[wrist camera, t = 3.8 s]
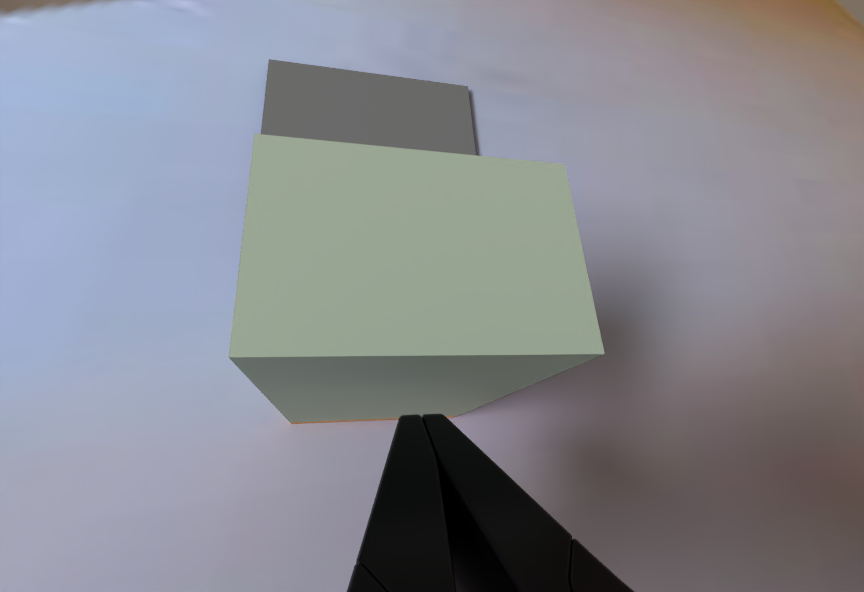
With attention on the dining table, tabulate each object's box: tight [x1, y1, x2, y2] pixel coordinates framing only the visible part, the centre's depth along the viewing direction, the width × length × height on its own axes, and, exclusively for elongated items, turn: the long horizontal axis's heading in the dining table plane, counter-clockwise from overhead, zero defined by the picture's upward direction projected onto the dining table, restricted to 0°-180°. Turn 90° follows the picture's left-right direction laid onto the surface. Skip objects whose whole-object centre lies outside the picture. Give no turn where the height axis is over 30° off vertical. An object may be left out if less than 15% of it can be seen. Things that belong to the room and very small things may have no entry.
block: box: [229, 134, 605, 424], centre depth 12 cm, size 4×6×10 cm, turn 93°
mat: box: [261, 59, 476, 155], centre depth 20 cm, size 12×10×1 cm
